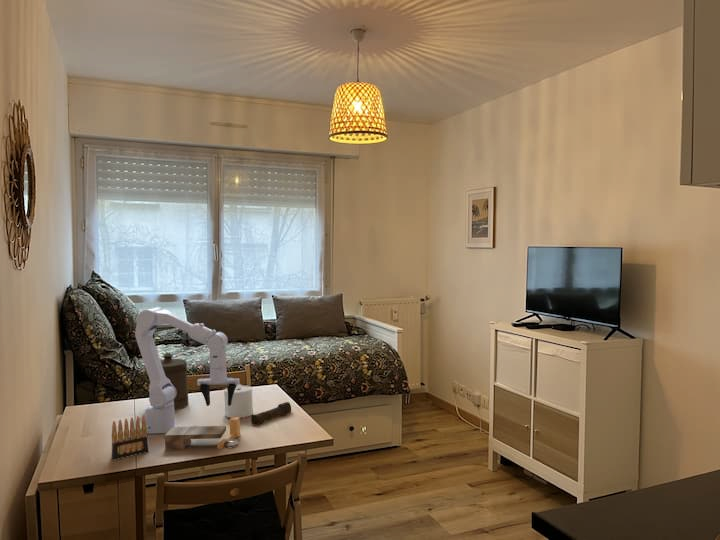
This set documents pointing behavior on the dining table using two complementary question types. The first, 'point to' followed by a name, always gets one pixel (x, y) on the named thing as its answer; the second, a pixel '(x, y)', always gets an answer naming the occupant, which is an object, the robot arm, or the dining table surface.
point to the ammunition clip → (129, 439)
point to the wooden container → (177, 378)
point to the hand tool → (271, 413)
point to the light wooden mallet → (231, 431)
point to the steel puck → (231, 443)
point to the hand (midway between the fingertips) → (219, 404)
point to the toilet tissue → (239, 402)
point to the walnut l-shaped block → (191, 435)
